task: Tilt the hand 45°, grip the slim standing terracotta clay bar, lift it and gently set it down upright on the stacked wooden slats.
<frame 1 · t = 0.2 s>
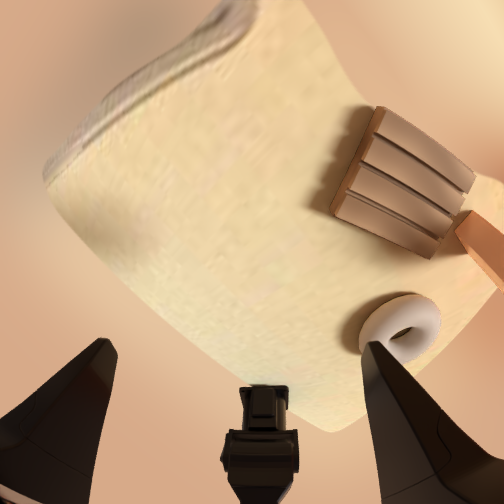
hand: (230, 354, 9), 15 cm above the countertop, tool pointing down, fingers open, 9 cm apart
stacked wooden slats: (404, 184, 20), on the countertop
clay bar: (470, 232, 21), on the countertop
donut: (396, 321, 28), on the countertop
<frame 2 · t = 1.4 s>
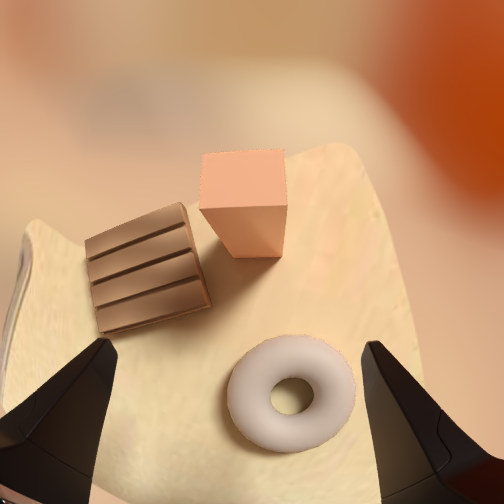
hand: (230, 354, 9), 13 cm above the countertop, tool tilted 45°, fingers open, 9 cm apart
stacked wooden slats: (146, 272, 24), on the countertop
clay bar: (257, 239, 23), on the countertop
donut: (290, 390, 21), on the countertop
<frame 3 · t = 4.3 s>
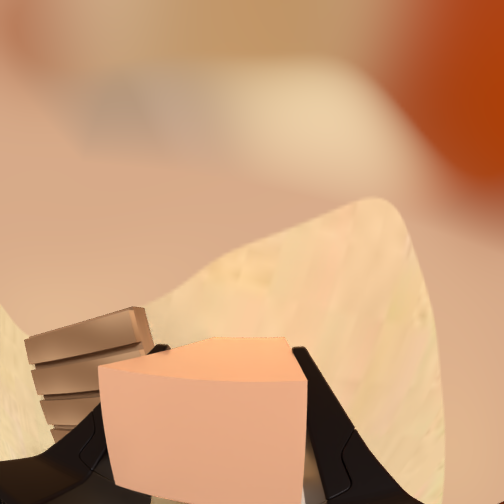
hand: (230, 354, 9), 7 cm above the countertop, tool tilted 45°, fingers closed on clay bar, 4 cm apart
stacked wooden slats: (101, 389, 15), on the countertop
clay bar: (248, 363, 15), on the countertop, touching gripper
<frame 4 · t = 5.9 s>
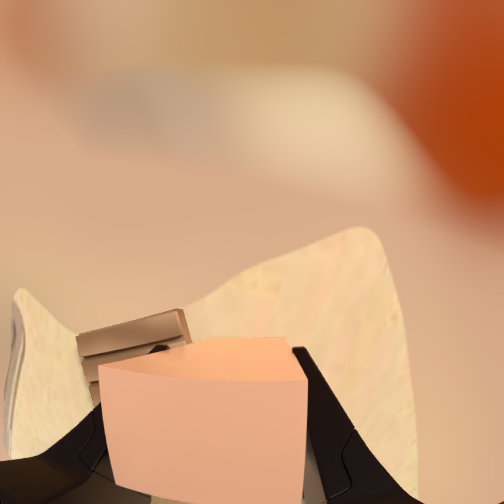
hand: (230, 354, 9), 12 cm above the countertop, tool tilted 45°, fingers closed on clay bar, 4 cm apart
stacked wooden slats: (144, 374, 21), on the countertop
clay bar: (249, 363, 15), point 6 cm above the countertop, touching gripper
when the fingers open (10 cm above the countertop, at t = 7.8 s): clay bar stays where it is, resting on stacked wooden slats.
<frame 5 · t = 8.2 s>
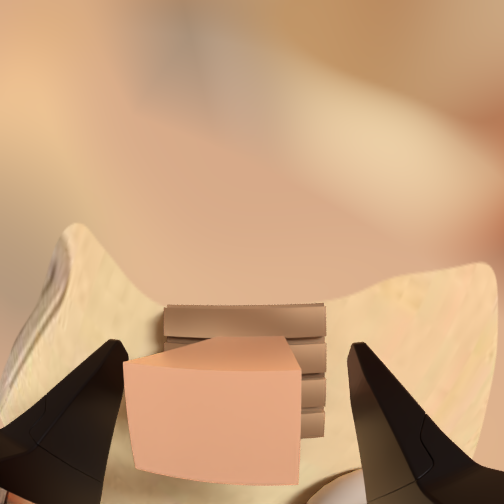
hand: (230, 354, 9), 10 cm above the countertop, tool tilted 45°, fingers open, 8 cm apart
stacked wooden slats: (246, 371, 18), on the countertop
clay bar: (250, 360, 16), point 2 cm above the countertop, touching stacked wooden slats
donut: (356, 502, 14), on the countertop
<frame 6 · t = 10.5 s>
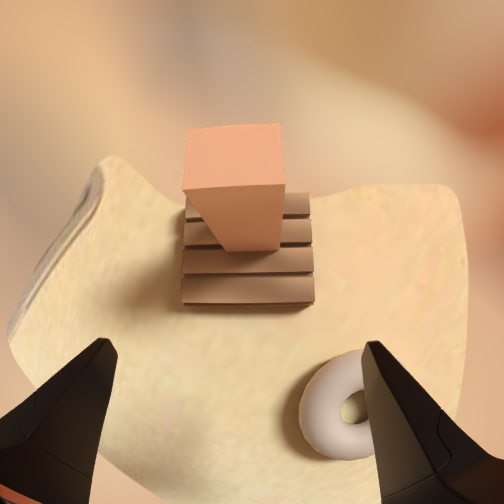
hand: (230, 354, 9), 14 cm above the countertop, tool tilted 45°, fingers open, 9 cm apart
stacked wooden slats: (248, 252, 23), on the countertop
clay bar: (252, 231, 21), point 2 cm above the countertop, touching stacked wooden slats
donut: (353, 401, 20), on the countertop
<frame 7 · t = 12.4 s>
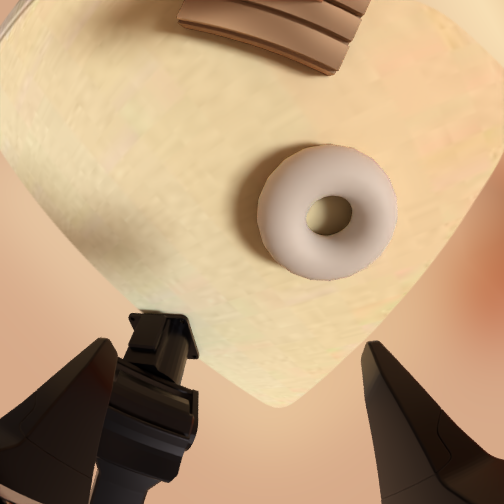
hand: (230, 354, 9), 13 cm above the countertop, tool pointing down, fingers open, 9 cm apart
donut: (324, 206, 20), on the countertop
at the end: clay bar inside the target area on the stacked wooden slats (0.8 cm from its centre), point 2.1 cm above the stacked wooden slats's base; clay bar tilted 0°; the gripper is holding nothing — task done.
